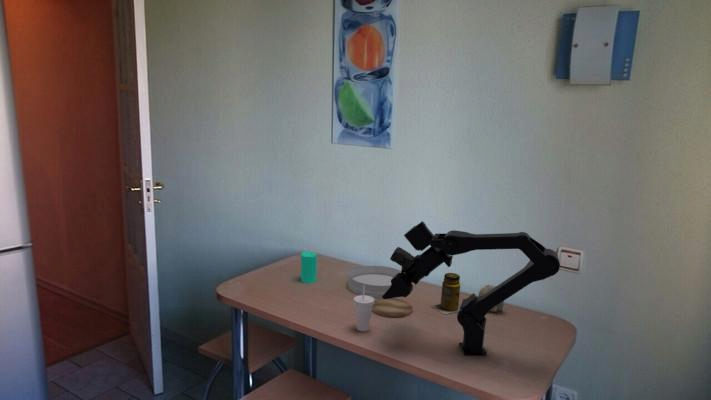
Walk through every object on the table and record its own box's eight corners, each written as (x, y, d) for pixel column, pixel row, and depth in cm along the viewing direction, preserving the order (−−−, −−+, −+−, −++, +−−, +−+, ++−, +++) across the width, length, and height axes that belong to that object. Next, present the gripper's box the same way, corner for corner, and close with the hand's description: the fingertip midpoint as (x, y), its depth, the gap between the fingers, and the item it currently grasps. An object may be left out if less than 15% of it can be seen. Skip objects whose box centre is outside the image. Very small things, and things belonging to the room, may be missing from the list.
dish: (393, 304, 174) (394, 290, 173) (337, 291, 183) (338, 278, 182) (414, 284, 193) (415, 272, 192) (363, 273, 203) (363, 262, 202)
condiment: (463, 310, 171) (466, 276, 168) (445, 314, 166) (448, 280, 164) (448, 302, 176) (451, 270, 174) (430, 307, 172) (433, 273, 169)
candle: (298, 278, 193) (299, 248, 191) (313, 276, 196) (314, 247, 193) (303, 283, 188) (304, 253, 186) (318, 282, 190) (319, 251, 188)
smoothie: (348, 329, 152) (350, 286, 149) (358, 322, 157) (360, 280, 155) (367, 335, 149) (369, 291, 146) (376, 327, 154) (378, 284, 152)
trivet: (415, 318, 162) (415, 314, 162) (372, 317, 161) (373, 314, 161) (408, 301, 176) (408, 298, 176) (368, 300, 175) (368, 297, 175)
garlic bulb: (500, 320, 169) (510, 298, 164) (476, 314, 169) (485, 292, 165) (497, 301, 177) (506, 280, 173) (474, 296, 178) (482, 274, 173)
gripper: (415, 233, 152) (378, 262, 158) (400, 249, 135) (360, 281, 140) (439, 261, 151) (401, 290, 157) (427, 281, 134) (385, 312, 139)
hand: (387, 292), depth 148 cm, fingers open, 9 cm apart
